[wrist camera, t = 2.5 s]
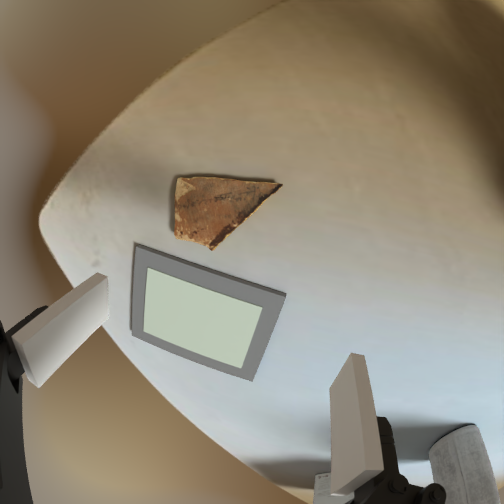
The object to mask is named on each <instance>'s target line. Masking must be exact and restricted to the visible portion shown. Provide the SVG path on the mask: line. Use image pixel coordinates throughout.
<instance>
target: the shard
mask: <svg viewBox="0 0 504 504" xmlns="http://www.w3.org/2000/svg"><path fill="white" fill-rule="evenodd" d="M282 186H283V184H279V183H269V182H249V181H239V180H236V179H223V178H217V177H210V178H209V177H192V178H183V177H181V178H177V183H176V192H175V227H174V235H175V237H176V239H180V240H186V241H193V242H196V243H199V244H201V245H204V246H207V247H208V248H209V249H210V250H211V251H213V250H215V248H216V247H217V246H218V245H219V244H220V243H221V242H222V241H223V240H225V239H226V237H228V236H229V235H230V234H231V233H232V232H233V231H234V230H235V229H236V228H237V227H238V226H239V225H241V224H242V223H243V222H244V221H246V220H247V218H249V217H250V216H251V215H252V214H253V213H254V212H255V211H256V210H257V209H258V208H259V207H260V206H261V205H262V204H263V203H264V201H265V200H266V199H267V198H268V197H270V196H271V195H272V194H274V193H276V192H277V191H278V190H279V189H280V188H281V187H282Z"/></svg>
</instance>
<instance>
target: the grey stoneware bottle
mask: <svg viewBox="0 0 504 504" xmlns="http://www.w3.org/2000/svg"><path fill="white" fill-rule="evenodd" d="M429 458H430V463H431V468H432V473H433V479H434V483H438V484H440V485H442V486H443V487H444V489H445V491H446V502H445V504H501V503H500V498H499V493H498V489H497V485H496V481H495V477H494V474H493V470H492V466H491V463H490V460H489V457H488V454H487V451H486V448H485V445H484V442H483V439H482V436H481V433H480V431H479V428H478V427H477V426H475V425H469V426H465V427H462V428H460V429H457V430H456V431H453V432H451V433H450V434H448V435H446V436H444V437H443V438H441V439H440V440H439V441H438V442H436V443H435V444H434V445H433V446H432V447H431V449H430V451H429Z"/></svg>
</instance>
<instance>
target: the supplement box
mask: <svg viewBox="0 0 504 504" xmlns="http://www.w3.org/2000/svg"><path fill="white" fill-rule="evenodd" d="M330 490H331V472H329V473H323V474H317V475H315V486H314V498H313V504H345V503H346V502H348V501H350V500H351V499H353V498H354V492H352V493H350V494H349V495H347V496H336V495H330Z"/></svg>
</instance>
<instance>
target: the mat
mask: <svg viewBox="0 0 504 504" xmlns="http://www.w3.org/2000/svg"><path fill="white" fill-rule="evenodd" d="M285 298H286V293H282V292H279V291H276V290H273V289H270V288H267V287H264V286H260V285H257V284H254V283H251V282H248V281H245V280H242V279H239V278H236V277H233V276H230V275H227V274H224V273H221V272H218V271H215V270H212V269H209V268H206V267H203V266H200V265H197V264H194V263H191V262H188V261H185V260H182V259H180V258H177V257H174V256H171V255H168V254H165V253H162V252H160V251H157V250H154V249H151V248H148V247H146V246H143V245H140V244H139V245H138V246H136V252H135V264H134V279H133V300H132V336H134V337H137V338H139V339H141V340H143V341H145V342H148V343H150V344H152V345H154V346H157V347H159V348H161V349H164V350H166V351H169V352H171V353H173V354H176V355H178V356H181V357H183V358H186V359H189V360H191V361H194V362H196V363H199V364H202V365H204V366H207V367H210V368H213V369H216V370H219V371H221V372H224V373H227V374H230V375H233V376H236V377H240V378H243V379H246V380H249V381H253V379H254V376H255V374H256V371H257V369H258V367H259V364H260V362H261V359H262V357H263V354H264V352H265V350H266V347H267V345H268V342H269V340H270V337H271V335H272V332H273V329H274V327H275V324H276V322H277V319H278V317H279V314H280V311H281V309H282V306H283V303H284V301H285Z"/></svg>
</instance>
